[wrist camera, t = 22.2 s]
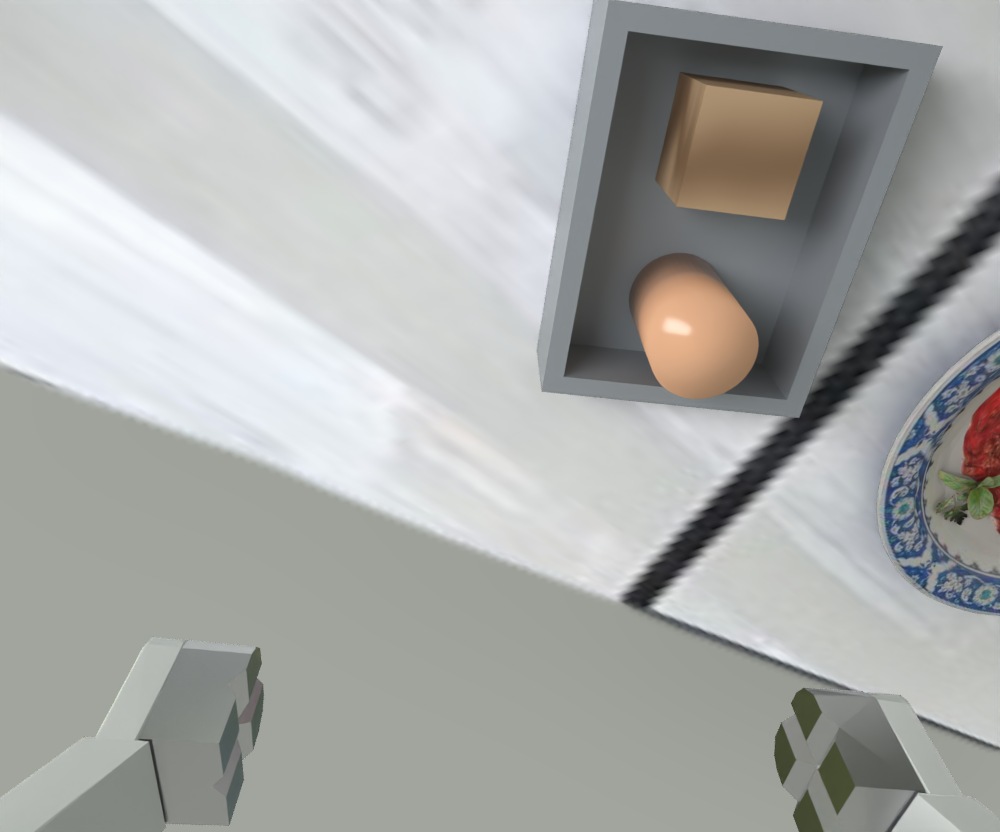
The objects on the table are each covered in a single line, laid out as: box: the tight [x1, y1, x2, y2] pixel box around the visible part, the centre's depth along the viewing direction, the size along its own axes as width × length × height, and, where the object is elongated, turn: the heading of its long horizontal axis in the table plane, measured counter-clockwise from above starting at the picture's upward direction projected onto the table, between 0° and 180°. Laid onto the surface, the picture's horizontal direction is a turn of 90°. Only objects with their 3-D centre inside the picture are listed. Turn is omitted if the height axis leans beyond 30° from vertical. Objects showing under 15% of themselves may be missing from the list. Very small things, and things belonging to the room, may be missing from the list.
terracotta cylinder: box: [629, 253, 759, 399], centre depth 37 cm, size 5×5×7 cm
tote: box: [537, 0, 943, 418], centre depth 36 cm, size 18×14×5 cm
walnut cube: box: [655, 72, 823, 220], centre depth 33 cm, size 5×5×5 cm
